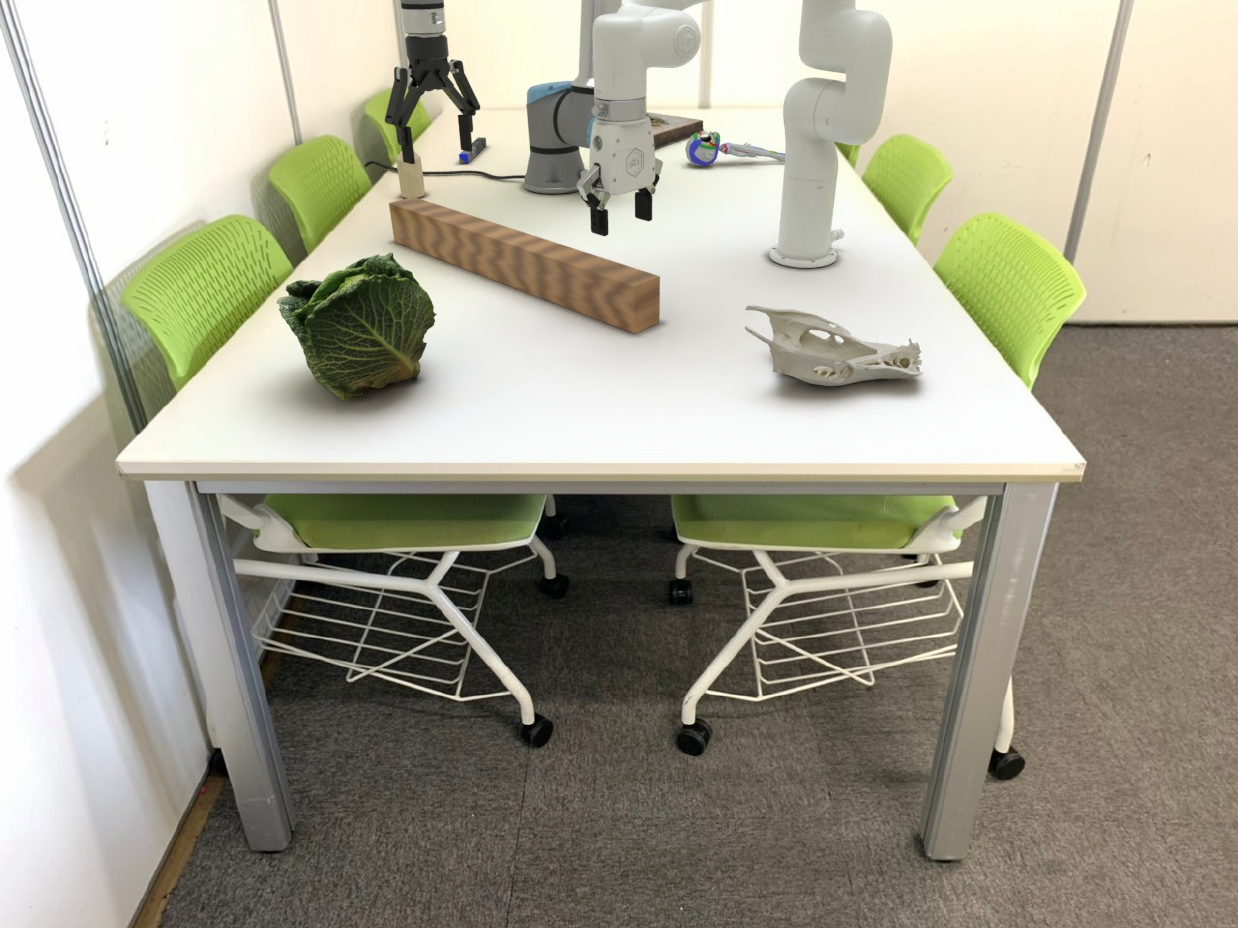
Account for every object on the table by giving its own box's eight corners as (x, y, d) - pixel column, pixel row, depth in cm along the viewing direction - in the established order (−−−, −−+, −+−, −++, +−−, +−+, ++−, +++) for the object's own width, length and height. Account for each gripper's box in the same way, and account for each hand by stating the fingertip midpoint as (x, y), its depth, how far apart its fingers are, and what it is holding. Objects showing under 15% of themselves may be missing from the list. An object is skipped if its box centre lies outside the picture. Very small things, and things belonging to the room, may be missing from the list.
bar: (394, 242, 182) (388, 203, 177) (418, 235, 185) (413, 196, 181) (634, 334, 142) (634, 286, 137) (659, 323, 145) (660, 276, 141)
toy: (809, 146, 225) (693, 132, 220) (801, 180, 229) (687, 167, 224) (798, 137, 233) (686, 124, 229) (791, 170, 238) (681, 158, 233)
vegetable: (353, 408, 136) (266, 297, 128) (458, 337, 138) (379, 222, 130) (352, 443, 118) (251, 316, 110) (474, 360, 119) (382, 229, 111)
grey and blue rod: (485, 137, 250) (466, 155, 233) (486, 145, 251) (467, 163, 234) (478, 137, 250) (458, 155, 233) (478, 145, 251) (459, 163, 234)
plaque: (647, 125, 237) (559, 112, 252) (647, 153, 241) (560, 139, 256) (706, 107, 258) (622, 97, 273) (705, 133, 262) (622, 121, 277)
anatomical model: (746, 295, 131) (922, 298, 128) (744, 352, 136) (913, 356, 133) (742, 338, 119) (937, 342, 115) (741, 399, 124) (927, 405, 120)
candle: (429, 193, 211) (424, 149, 206) (417, 199, 207) (411, 154, 201) (409, 191, 213) (403, 147, 207) (396, 197, 208) (390, 153, 203)
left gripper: (378, 43, 151) (395, 171, 162) (492, 30, 166) (501, 148, 177) (353, 39, 155) (371, 165, 166) (467, 27, 171) (477, 143, 182)
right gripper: (596, 123, 122) (599, 245, 131) (679, 104, 132) (677, 219, 141) (558, 115, 126) (564, 234, 135) (642, 97, 137) (642, 209, 146)
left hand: (438, 156), depth 172 cm, fingers open, 13 cm apart
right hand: (622, 226), depth 138 cm, fingers open, 9 cm apart
